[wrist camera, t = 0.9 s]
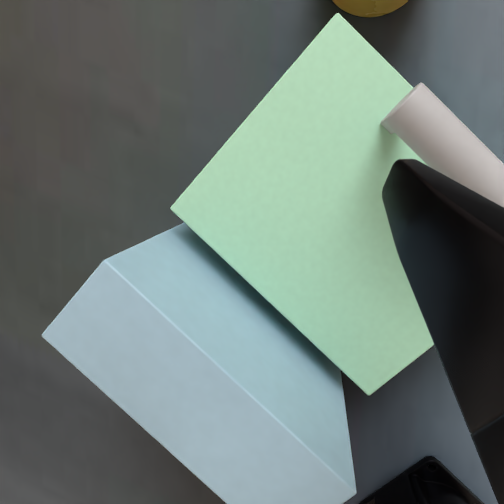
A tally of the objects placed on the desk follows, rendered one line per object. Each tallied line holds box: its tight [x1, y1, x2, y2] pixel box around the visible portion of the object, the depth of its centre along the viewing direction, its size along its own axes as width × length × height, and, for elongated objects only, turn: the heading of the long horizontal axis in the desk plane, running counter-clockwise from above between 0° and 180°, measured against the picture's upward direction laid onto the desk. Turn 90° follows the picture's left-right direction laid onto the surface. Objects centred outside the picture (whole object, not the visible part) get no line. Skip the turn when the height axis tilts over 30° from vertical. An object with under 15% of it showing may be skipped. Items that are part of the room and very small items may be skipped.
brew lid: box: [170, 13, 504, 396], centre depth 16 cm, size 11×13×5 cm
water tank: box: [42, 222, 357, 504], centre depth 19 cm, size 12×4×10 cm, turn 47°
